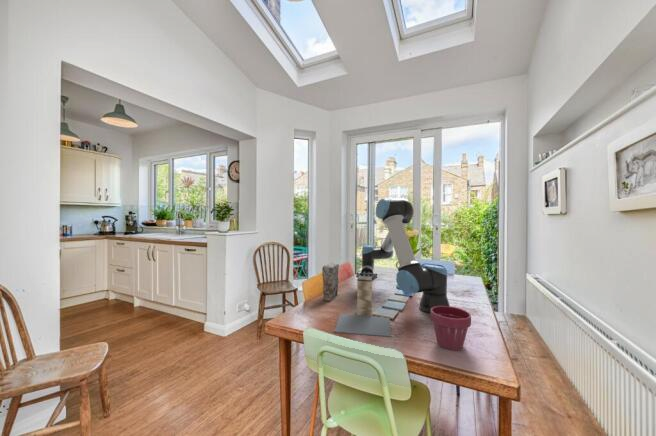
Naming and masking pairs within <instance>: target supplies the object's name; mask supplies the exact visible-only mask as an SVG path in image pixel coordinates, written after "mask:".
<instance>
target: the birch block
mask: <svg viewBox="0 0 656 436" xmlns="http://www.w3.org/2000/svg"><path fill="white" fill-rule="evenodd" d="M356 284H357V286H356V288H357V291H356V293H357V295H356V297H357V298H356V299H357V303H356V305H357V307H356V309H357V310H356V315H365V316H373V310H372V309H373V308H372V307H373V305H372V304H373V301H372V300H373V281H372V277H369V276H358V278H357V281H356Z"/></svg>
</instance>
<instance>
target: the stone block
mask: <svg viewBox="0 0 656 436" xmlns="http://www.w3.org/2000/svg"><path fill="white" fill-rule="evenodd" d="M339 267H340V265H339V263H334V262H329V263H326V264H325V265H323V266H322V271H321V272H322V273H321V274H322V285H323V286H322V291H323V300H324V301H328V302H332V301H334V300H335V298H336V297H337V296H338V290H339V289H338V288H339V270H340V269H339Z"/></svg>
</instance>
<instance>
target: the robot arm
mask: <svg viewBox="0 0 656 436" xmlns="http://www.w3.org/2000/svg"><path fill="white" fill-rule="evenodd" d="M375 215H376V217H377V218H378V219H379V220H382V223H383V225H385V226H386V228H387V230H388V233H387V235H386V236H385V238H384V240H383V243H382V244H381V246H380V247H376V248H375V246H373V245H370V244H369V245H363V246H362V247H361V269H360V270H361V271H360V272H356V273H355V277H356V278H357V279H358V276H369V277H372V282H373V281H374V280H376V279H378V273H374V271H375V269H374V268H375V267H374V260H386V259H387V260H388V259H392V258H393V256H394V252H395V255H396V259H397V261H398V265H399V266H398V268H397V273H396V274H395V275H396V276H395V277H396V278H395V281H396V283H397V286H398V288H399V289H400V291H402V292H403V293H406V294H412V295H413V294H417V293H422V295H421V298H420V301H419V306H418V307H419V310H421V311H422V312H425V313H428V314H431V308H433V307H435V306H450V303H449V299H448V295H447V294H448V293H447V292H448V291H447V289H448V288H447V287H448V271H447V268H446V267H444V266H440V265H435V264H426V263H425V264H423V266H421V263H420V262H419V261H417V260H416V257H415V254H414V252H413V251H414V250H413V249H412V246H411V243H410V241H409V237H408V234H407V231H406V229H405V228H406V227H407V225H408V224H410V222H411V221H412V218H413V217H414V207H413V204H412V203H411V202H410V201H409V200H408V199H406V198H388V197H386V198H380V199H379V201H378V202H377V204H376V207H375ZM450 307H451V306H450Z"/></svg>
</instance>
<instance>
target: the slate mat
mask: <svg viewBox="0 0 656 436" xmlns="http://www.w3.org/2000/svg"><path fill="white" fill-rule="evenodd" d="M384 317H385V316H380V317H378V316H377V315H372V316H365V315H357V314H349V313H348V314H347V313H339V316H338V319H337V321H336V324H335V327H334V330H333V333H337V334H338V333H339V334H352V335H362V336H364V335H365V336H373V337H374V336H375V337H384V338H392V337H393V336H392V328H391V321H390V317H389V318H384Z"/></svg>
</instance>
